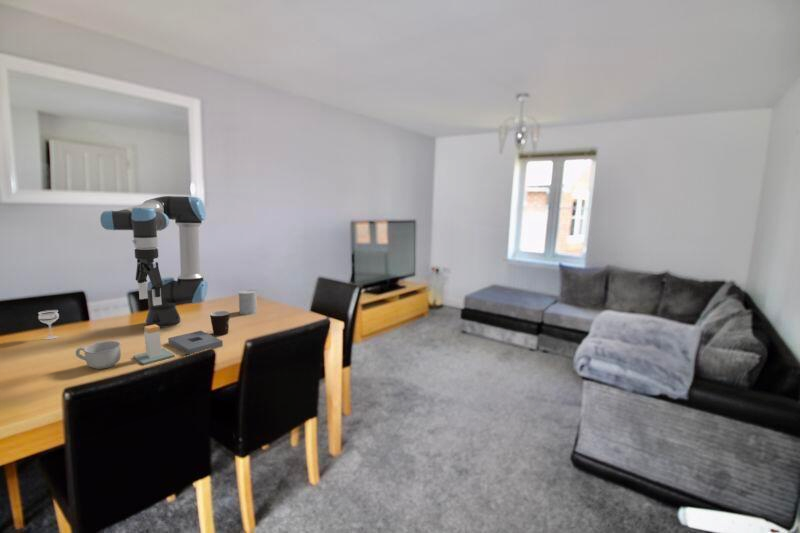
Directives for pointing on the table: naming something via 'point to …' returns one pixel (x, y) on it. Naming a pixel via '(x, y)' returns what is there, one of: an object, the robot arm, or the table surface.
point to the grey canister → (247, 302)
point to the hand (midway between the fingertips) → (150, 301)
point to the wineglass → (49, 319)
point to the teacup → (101, 354)
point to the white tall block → (152, 340)
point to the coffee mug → (220, 322)
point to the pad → (146, 360)
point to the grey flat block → (194, 342)
